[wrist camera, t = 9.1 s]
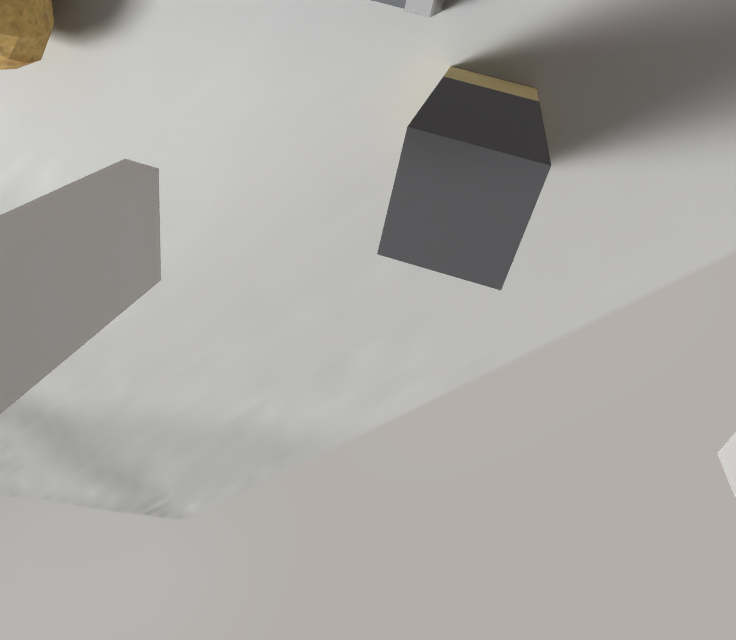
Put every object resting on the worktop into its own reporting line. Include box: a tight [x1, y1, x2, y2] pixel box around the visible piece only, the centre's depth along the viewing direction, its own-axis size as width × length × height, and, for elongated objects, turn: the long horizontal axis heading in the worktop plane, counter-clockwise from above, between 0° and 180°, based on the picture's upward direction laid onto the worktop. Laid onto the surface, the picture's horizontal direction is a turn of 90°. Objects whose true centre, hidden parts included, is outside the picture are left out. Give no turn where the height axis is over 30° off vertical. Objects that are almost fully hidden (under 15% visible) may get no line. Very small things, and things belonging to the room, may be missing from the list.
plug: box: [377, 66, 551, 290], centre depth 21 cm, size 4×4×12 cm
